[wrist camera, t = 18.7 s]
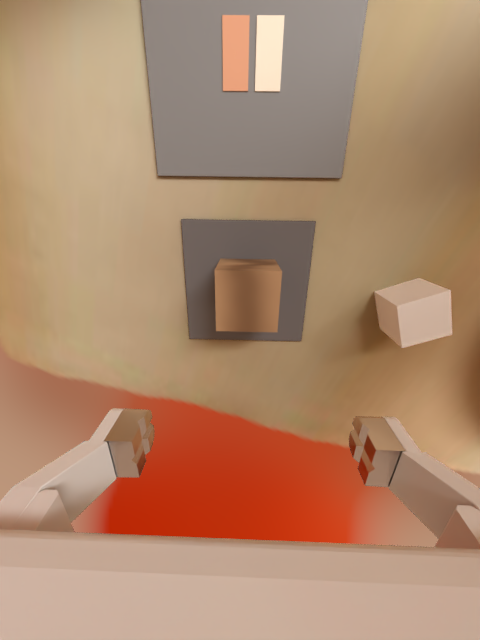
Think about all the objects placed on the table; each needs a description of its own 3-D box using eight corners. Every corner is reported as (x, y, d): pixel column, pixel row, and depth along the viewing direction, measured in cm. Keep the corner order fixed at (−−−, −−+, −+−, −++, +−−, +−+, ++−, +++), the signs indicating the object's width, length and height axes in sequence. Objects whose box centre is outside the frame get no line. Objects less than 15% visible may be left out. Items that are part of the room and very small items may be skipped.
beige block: (418, 277, 29) (450, 290, 25) (421, 316, 31) (452, 334, 27) (373, 291, 30) (396, 306, 25) (379, 328, 32) (401, 348, 27)
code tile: (382, -109, 18) (385, -115, 18) (340, 178, 26) (341, 177, 25) (131, -109, 19) (129, -115, 18) (158, 175, 26) (157, 175, 25)
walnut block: (275, 259, 28) (282, 271, 23) (271, 310, 31) (277, 332, 25) (220, 258, 29) (214, 270, 23) (221, 309, 31) (216, 331, 25)
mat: (315, 221, 27) (315, 221, 27) (300, 340, 33) (301, 341, 32) (181, 219, 27) (181, 219, 27) (190, 337, 33) (189, 338, 32)
